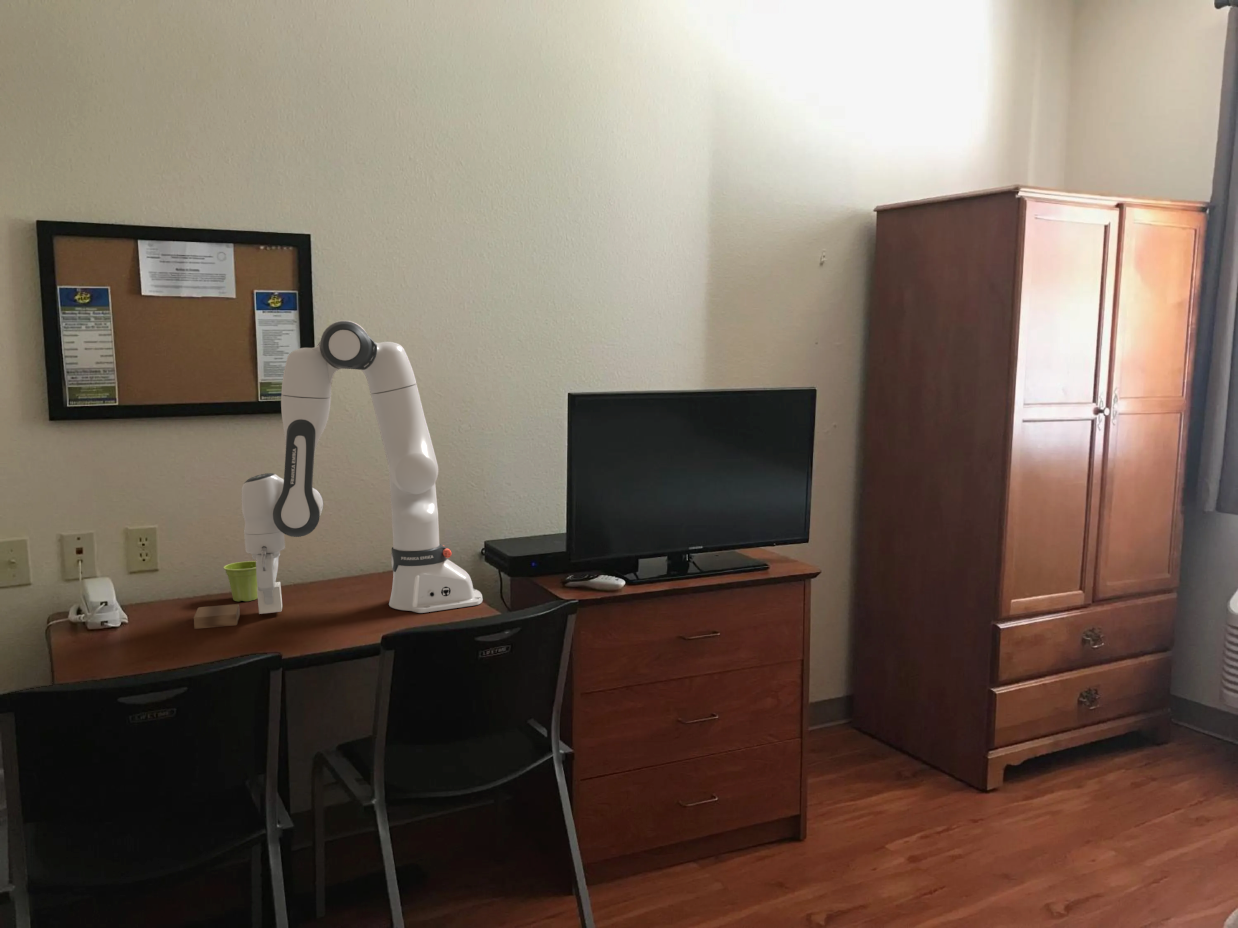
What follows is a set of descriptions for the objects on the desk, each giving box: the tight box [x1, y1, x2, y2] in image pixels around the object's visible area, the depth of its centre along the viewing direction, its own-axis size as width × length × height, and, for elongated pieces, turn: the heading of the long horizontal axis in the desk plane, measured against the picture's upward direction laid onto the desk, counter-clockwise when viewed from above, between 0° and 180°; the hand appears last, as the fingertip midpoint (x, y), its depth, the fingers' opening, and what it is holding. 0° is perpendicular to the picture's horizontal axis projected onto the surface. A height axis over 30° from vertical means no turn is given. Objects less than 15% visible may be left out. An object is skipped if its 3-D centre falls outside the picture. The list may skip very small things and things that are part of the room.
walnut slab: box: [193, 603, 240, 630], centre depth 235 cm, size 9×9×3 cm
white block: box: [257, 581, 283, 615], centre depth 240 cm, size 5×5×6 cm
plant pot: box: [223, 560, 258, 603], centre depth 254 cm, size 9×9×9 cm
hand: (270, 600), depth 240 cm, fingers closed on white block, 5 cm apart
